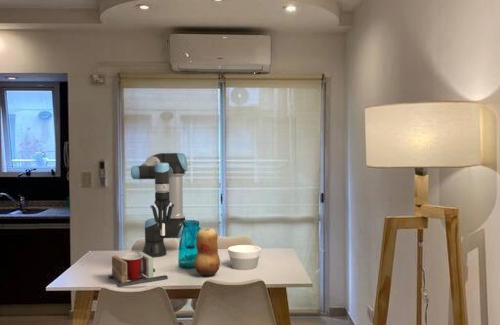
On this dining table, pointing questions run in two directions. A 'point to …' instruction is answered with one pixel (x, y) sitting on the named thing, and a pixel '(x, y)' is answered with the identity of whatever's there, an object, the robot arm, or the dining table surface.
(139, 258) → the plastic cup
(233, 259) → the bowl
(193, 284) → the dining table surface
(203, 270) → the butternut squash
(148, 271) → the block
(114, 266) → the vise bed
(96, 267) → the dining table surface
